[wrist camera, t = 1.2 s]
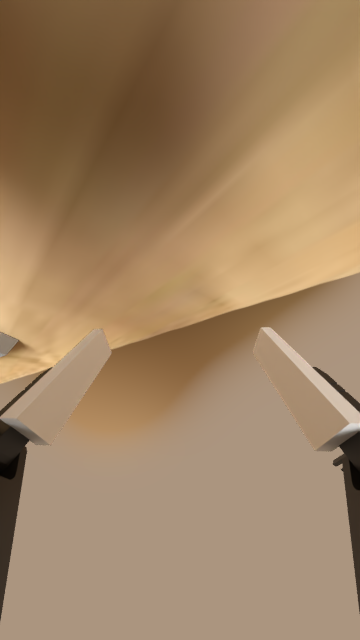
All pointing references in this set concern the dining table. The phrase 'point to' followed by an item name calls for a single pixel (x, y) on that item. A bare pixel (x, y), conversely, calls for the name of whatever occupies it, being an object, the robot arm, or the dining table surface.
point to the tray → (6, 344)
